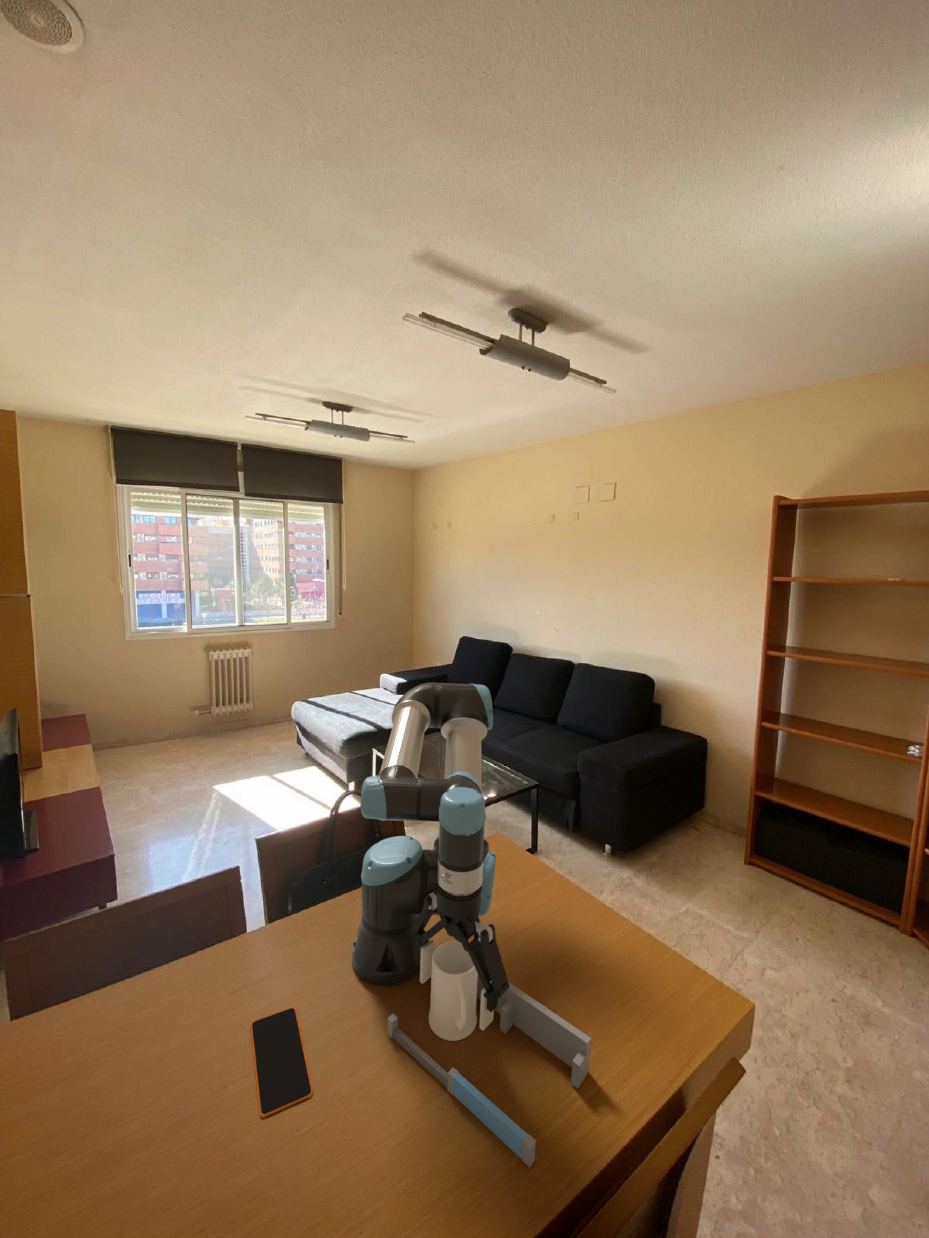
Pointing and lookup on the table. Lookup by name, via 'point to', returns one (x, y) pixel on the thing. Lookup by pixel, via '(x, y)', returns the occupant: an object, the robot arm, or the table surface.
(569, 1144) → the table surface
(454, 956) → the mug
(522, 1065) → the table surface
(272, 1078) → the smartphone
